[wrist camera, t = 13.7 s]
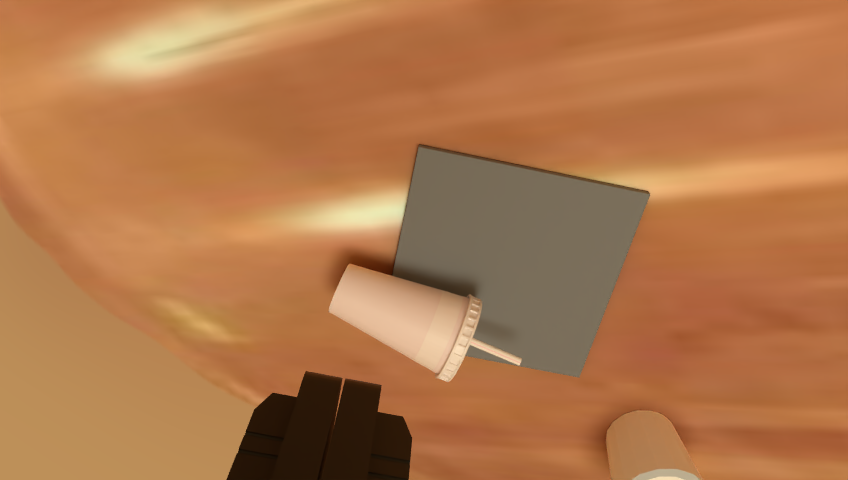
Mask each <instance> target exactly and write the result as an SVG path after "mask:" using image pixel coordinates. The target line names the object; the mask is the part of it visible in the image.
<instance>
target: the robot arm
mask: <svg viewBox="0 0 848 480" xmlns="http://www.w3.org/2000/svg"><path fill="white" fill-rule="evenodd" d="M341 384H342V378H340V377H335V376H329V375H324V374H319V373H313V372H308V371H306V372H305V374H304V377H303V380H302V383H301V387H300V390H299V393H298V396H297V397H293V396H288V395H282V394H277V393H272V394H271V395H270V396H269V397H268V398H266V399H265V400H264V401H263V402H262V403H261V404H260V405H259V406H258V407H257V408H255V409H254V412H253V414H252V417H251V419H250V422H249V425H248V427H247V429H246V433H245V435H244V437H243V440H242V442H241V445H240V447H239V451H238V453H237V455H236V457H235V460H234V462H233V465H232V468H231V470H230V472H229V475H228V478H227V480H408V479H409V468H410V465H409V464H410V457H411V445H412V437H411V434H410V432H409V430H408V427H407V425H406V422H405V420H404V418H403V417H402V416H397V415H391V414H386V413H380V412H377V411H378V405H379V399H380V392H381V385H378V384H373V383H368V382H362V381H357V380H352V379H345V382H344V386H343V391H342V395H341V399H340V403H339V408H338V412H337V406H338V401H339V395H340V390H341ZM336 412H337V416H336ZM335 417H336V420H335ZM334 423H335V425H334ZM333 428H334V429H333Z"/></svg>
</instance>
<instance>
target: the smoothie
mask: <svg viewBox="0 0 848 480" xmlns="http://www.w3.org/2000/svg"><path fill="white" fill-rule="evenodd" d="M481 310H482V300H481V299H478V298H476V297H474V296H472V295H471V294H469V295H468V296H467V297H464V296H460V295H457V294H453V293H450V292H447V291H443V290H439V289H436V288H432V287H429V286H426V285H422V284H419V283H415V282H412V281H408V280H405V279H401V278H398V277H394V276H391V275H387V274H384V273H381V272H377V271H374V270H370V269H367V268H363V267H360V266H356V265H353V264H349V265H348V266H347V268H346V270H345V272H344V274H343V276H342V278H341V280H340V282H339V285H338V287H337V289H336V292H335V294H334V296H333V299H332V302H331V304H330V307H329V312H330V313H332V314H333V315H335V316H337V317H339V318H340V319H342V320H344V321H346V322H347V323H349V324H351V325H353V326H354V327H356V328H358V329H360V330H361V331H363V332H365V333H367V334H368V335H370V336H372V337H374V338H375V339H377V340H379V341H381V342H382V343H384V344H386V345H388V346H389V347H391V348H393V349H395V350H396V351H398V352H400V353H402V354H403V355H405V356H407V357H409V358H410V359H412V360H413V361H415V362H417V363H419V364H421V365H423V366H424V367H426V368H428V369H430V370H432V371H433V372H435V378H439V379H442V380H444V381H446V382H449V381H451V379H452V378H453V377H454V376H455V374H456V372H457V371H458V369H459V367H460V365H461V363H462V361H463V359H464V357H465V355H466V353H467V350H468V348H469V346H470V345H471V346H474V347H476V348H479V349H481V350H483V351H486V352H488V353H490V354H493V355H495V356H497V357H500V358H502V359H505V360H507V361H509V362H512V363H514V364H516V365H520V363H521V361H522V358H520V357H517V356H515V355H513V354H510V353H508V352H506V351H503V350H501V349H498V348H496V347H494V346H491V345H489V344H487V343H484V342H482V341H479V340H477V339H475V338H473V336H474V333H475V330H476V327H477V324H478V321H479V318H480V314H481Z"/></svg>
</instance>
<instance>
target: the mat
mask: <svg viewBox="0 0 848 480" xmlns="http://www.w3.org/2000/svg"><path fill="white" fill-rule="evenodd" d="M649 196H650V193H649V192H648V191H643V190H638V189H633V188H629V187H624V186H619V185H614V184H609V183H604V182H599V181H594V180H590V179H585V178H580V177H575V176H570V175H565V174H560V173H556V172H551V171H546V170H541V169H536V168H531V167H526V166H522V165H517V164H512V163H507V162H502V161H497V160H492V159H488V158H483V157H478V156H473V155H468V154H463V153H458V152H453V151H449V150H444V149H439V148H434V147H429V146H424V145H419V147H418V152H417V157H416V162H415V167H414V171H413V176H412V181H411V186H410V191H409V196H408V201H407V205H406V210H405V215H404V220H403V225H402V230H401V235H400V240H399V244H398V249H397V254H396V259H395V264H394V269H393V274H392V276H394V277H398V278H401V279H405V280H408V281H412V282H415V283H419V284H422V285H426V286H429V287H432V288H436V289H439V290H443V291H447V292H450V293H453V294H457V295H460V296H464V297H467V296H468V295H469V294H471V295H472V296H474V297H476V298H478V299H481V300H482V310H481V314H480V318H479V321H478V324H477V327H476V330H475V333H474V336H473V338H475V339H477V340H479V341H482V342H484V343H487V344H489V345H491V346H494V347H496V348H498V349H501V350H503V351H506V352H508V353H510V354H513V355H515V356H517V357H520V358H522V361H521V363H520V365H516V364H514V363H512V362H509V361H507V360H505V359H502V358H500V357H497V356H495V355H493V354H490V353H488V352H486V351H483V350H481V349H479V348H476V347H474V346H471V345H470V346H469V348H468V350H467V353H466V355H465V356H469V357H474V358H479V359H485V360H490V361H495V362H500V363H506V364H511V365H516V366H521V367H527V368H532V369H537V370H542V371H548V372H553V373H558V374H563V375H569V376H574V377H580V374H581V372H582V369H583V366H584V364H585V361H586V359H587V356H588V353H589V351H590V348H591V346H592V343H593V341H594V338H595V335H596V333H597V330H598V328H599V325H600V323H601V320H602V317H603V315H604V312H605V310H606V307H607V304H608V302H609V299H610V297H611V294H612V292H613V289H614V286H615V284H616V281H617V279H618V276H619V274H620V271H621V268H622V266H623V263H624V261H625V258H626V255H627V253H628V250H629V248H630V245H631V243H632V240H633V237H634V235H635V232H636V230H637V227H638V225H639V222H640V219H641V217H642V214H643V212H644V209H645V206H646V204H647V201H648V199H649Z"/></svg>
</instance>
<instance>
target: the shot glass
mask: <svg viewBox="0 0 848 480" xmlns="http://www.w3.org/2000/svg"><path fill="white" fill-rule="evenodd" d="M606 446H607V453H608V460H609V467H610V474H611V480H703V479H702V477H701V475H700V473H699V471H698V470H697V468H696V466H695V464H694V462H693V461H692V459H691V457H690V455H689V453H688V451H687V450H686V448H685V446H684V444H683V442H682V441H681V439H680V437H679V435H678V433H677V432H676V430H675V428H674V426H673V424H672V422H671V421H670V420H669V419H667V418H666V417H665V416H664V415H663V414H660V413H657V412H654V411H651V410H636V411H633V412H630V413H626V414H623V415H622V416H620V417H619V418H618V419H616V420H615V421H613V423H612V424H611V426H610V427H609V429H608V430H607V435H606Z"/></svg>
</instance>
